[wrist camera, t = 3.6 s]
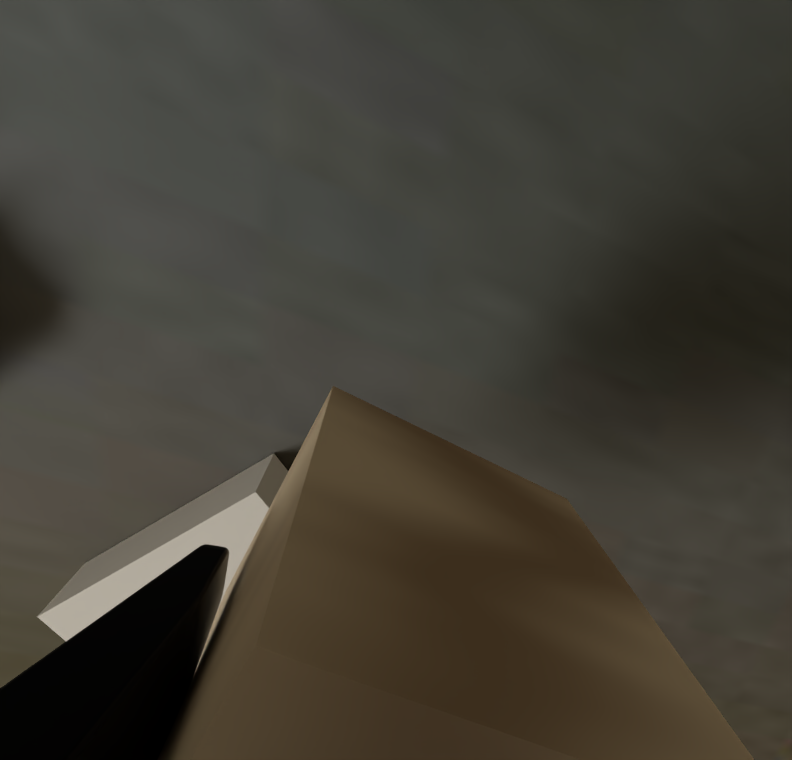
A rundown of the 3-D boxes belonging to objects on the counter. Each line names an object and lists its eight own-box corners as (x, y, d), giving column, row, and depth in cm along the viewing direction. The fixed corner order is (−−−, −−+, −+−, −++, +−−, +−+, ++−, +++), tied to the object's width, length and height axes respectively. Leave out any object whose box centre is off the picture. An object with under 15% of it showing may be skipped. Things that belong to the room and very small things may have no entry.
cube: (566, 499, 8) (811, 840, 4) (438, 670, 10) (495, 1087, 5) (333, 385, 7) (256, 646, 3) (225, 592, 9) (45, 1011, 4)
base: (273, 453, 16) (255, 492, 13) (400, 614, 18) (404, 670, 16) (84, 563, 17) (37, 616, 15) (229, 699, 20) (208, 763, 17)
